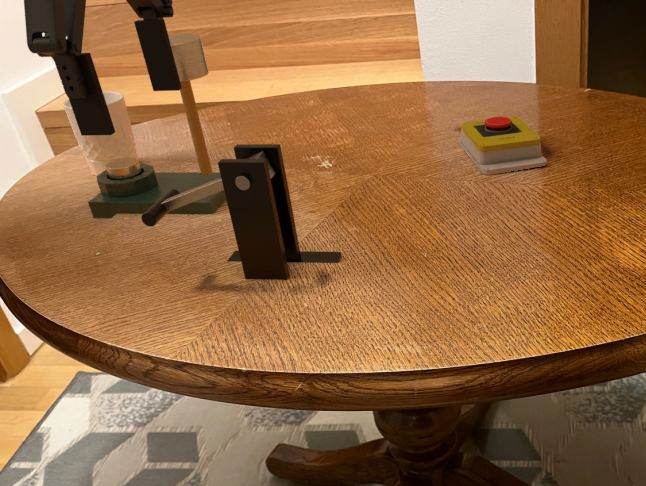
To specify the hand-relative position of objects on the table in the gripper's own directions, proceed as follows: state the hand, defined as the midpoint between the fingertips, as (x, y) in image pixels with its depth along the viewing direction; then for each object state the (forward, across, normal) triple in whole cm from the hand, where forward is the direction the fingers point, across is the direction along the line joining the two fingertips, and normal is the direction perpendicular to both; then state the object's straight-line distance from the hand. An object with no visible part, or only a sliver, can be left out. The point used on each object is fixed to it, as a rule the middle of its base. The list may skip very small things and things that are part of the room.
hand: (136, 110), depth 68 cm
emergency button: (+18, +38, -31) cm, 52 cm away
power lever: (+9, 0, -6) cm, 10 cm away
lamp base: (+18, +20, +11) cm, 28 cm away
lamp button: (+14, +20, +16) cm, 29 cm away
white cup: (+18, +32, +25) cm, 44 cm away
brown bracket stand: (+18, 0, -10) cm, 21 cm away
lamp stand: (+14, +20, +5) cm, 24 cm away
